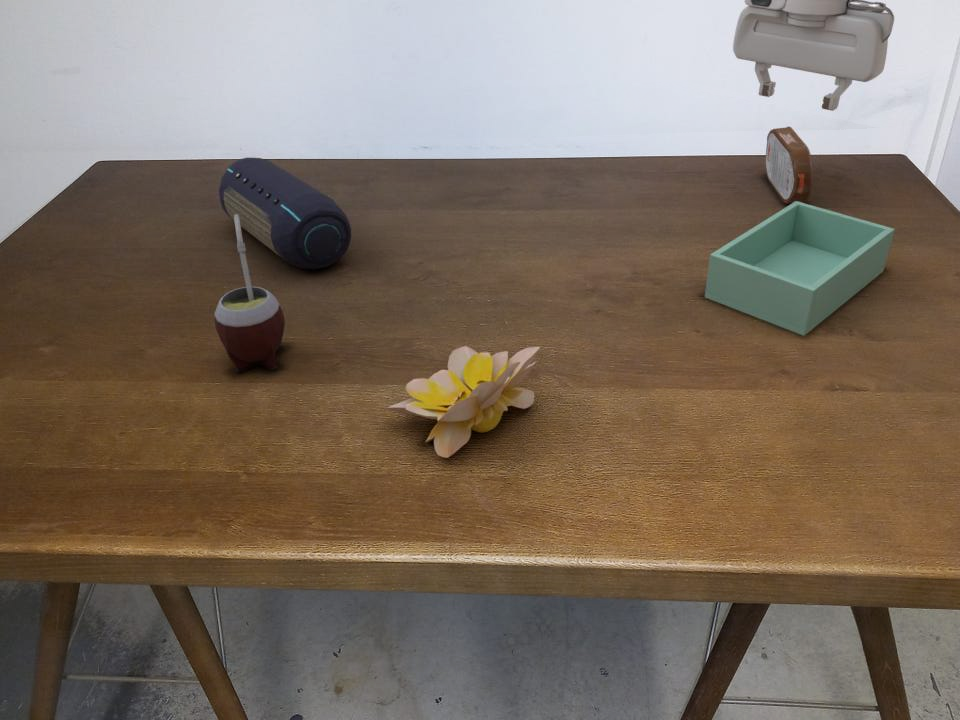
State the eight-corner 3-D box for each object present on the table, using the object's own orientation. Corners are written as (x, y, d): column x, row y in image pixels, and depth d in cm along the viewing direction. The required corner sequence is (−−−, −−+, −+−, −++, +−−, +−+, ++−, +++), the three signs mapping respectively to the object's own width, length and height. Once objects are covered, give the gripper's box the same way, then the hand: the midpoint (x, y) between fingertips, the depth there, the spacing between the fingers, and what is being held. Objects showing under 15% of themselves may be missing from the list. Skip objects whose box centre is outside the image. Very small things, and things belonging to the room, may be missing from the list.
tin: (809, 212, 114) (820, 154, 109) (786, 213, 114) (796, 155, 110) (778, 172, 127) (788, 118, 122) (758, 172, 127) (766, 119, 122)
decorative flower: (487, 343, 87) (493, 273, 80) (561, 408, 82) (575, 339, 74) (372, 411, 80) (367, 341, 73) (445, 487, 75) (448, 419, 67)
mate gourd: (252, 387, 85) (220, 260, 77) (209, 361, 90) (174, 238, 81) (308, 355, 90) (283, 232, 81) (264, 332, 94) (236, 212, 86)
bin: (788, 241, 107) (795, 200, 104) (883, 272, 100) (895, 228, 96) (704, 298, 96) (709, 254, 93) (803, 337, 89) (813, 290, 85)
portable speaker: (218, 226, 119) (201, 160, 114) (280, 206, 124) (267, 142, 118) (296, 289, 102) (281, 216, 97) (364, 264, 107) (354, 193, 102)
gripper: (908, 0, 100) (881, 111, 108) (759, -18, 113) (744, 83, 121) (886, 9, 97) (859, 123, 105) (734, -11, 109) (720, 93, 117)
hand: (796, 102), depth 113 cm, fingers open, 8 cm apart
